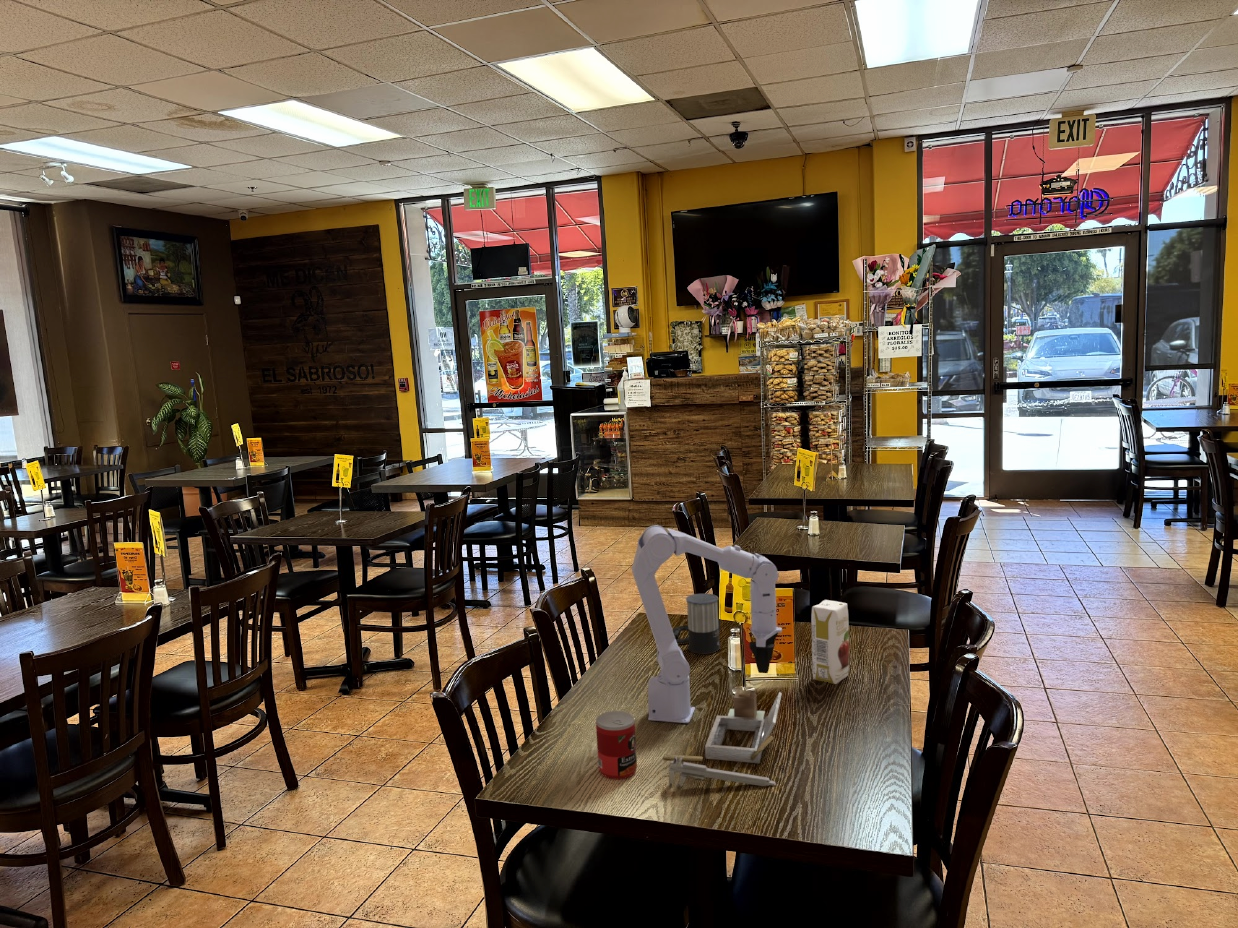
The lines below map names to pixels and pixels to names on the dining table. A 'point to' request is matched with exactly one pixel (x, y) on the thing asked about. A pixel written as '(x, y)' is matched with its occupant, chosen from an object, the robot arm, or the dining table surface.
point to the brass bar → (684, 757)
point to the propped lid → (768, 727)
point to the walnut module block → (745, 704)
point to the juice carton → (830, 641)
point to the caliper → (712, 774)
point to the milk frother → (701, 624)
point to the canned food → (616, 744)
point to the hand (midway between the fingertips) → (765, 666)
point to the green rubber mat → (759, 715)
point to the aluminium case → (728, 752)
